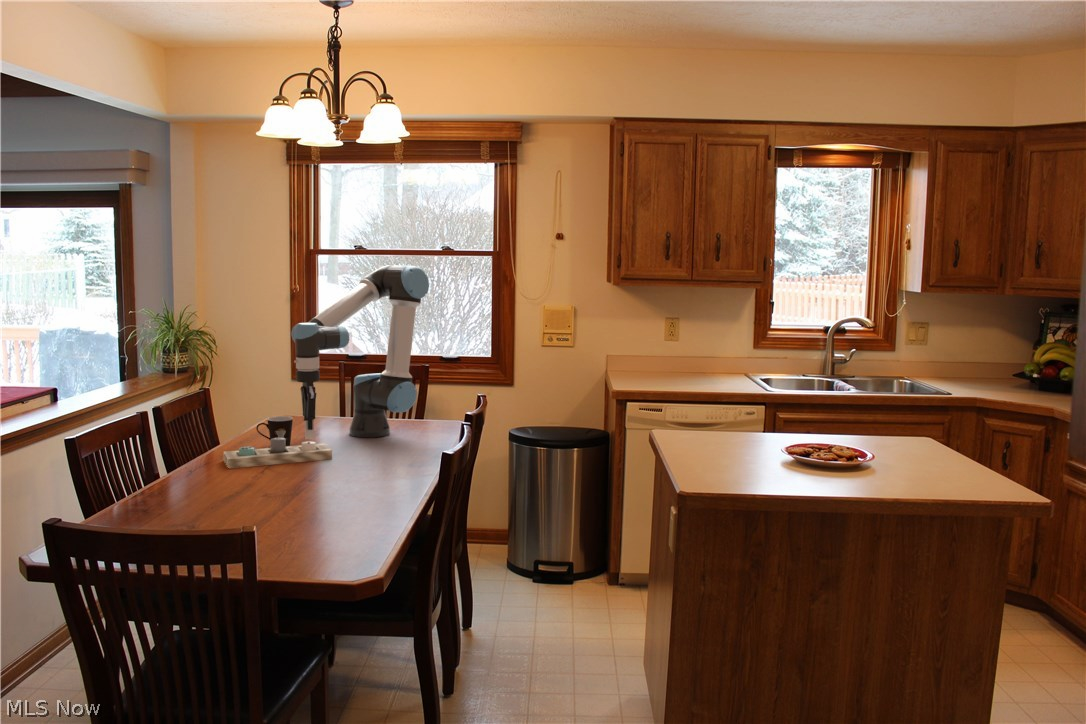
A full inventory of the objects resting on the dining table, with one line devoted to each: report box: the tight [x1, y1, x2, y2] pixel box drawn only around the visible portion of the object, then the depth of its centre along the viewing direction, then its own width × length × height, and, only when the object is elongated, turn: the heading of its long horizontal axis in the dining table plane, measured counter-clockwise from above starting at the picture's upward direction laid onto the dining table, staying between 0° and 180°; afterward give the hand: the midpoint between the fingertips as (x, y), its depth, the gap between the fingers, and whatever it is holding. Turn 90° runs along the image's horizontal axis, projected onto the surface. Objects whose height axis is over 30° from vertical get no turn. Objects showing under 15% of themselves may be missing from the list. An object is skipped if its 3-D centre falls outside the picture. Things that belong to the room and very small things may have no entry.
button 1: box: [300, 441, 317, 451], centre depth 286 cm, size 5×5×5 cm
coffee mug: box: [256, 415, 294, 446], centre depth 300 cm, size 12×9×10 cm
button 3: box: [238, 446, 255, 456], centre depth 276 cm, size 5×5×5 cm
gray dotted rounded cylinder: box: [269, 438, 286, 454], centre depth 281 cm, size 5×5×5 cm
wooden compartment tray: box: [222, 443, 333, 469], centre depth 281 cm, size 33×11×3 cm, turn 117°
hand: (309, 438), depth 285 cm, fingers closed
